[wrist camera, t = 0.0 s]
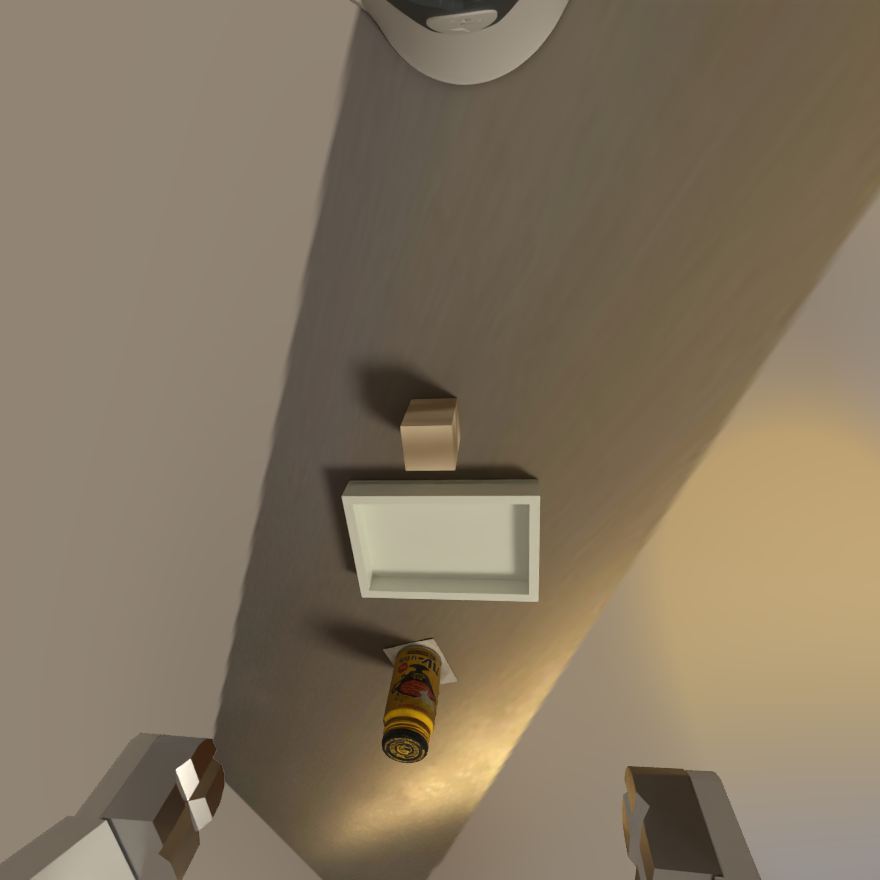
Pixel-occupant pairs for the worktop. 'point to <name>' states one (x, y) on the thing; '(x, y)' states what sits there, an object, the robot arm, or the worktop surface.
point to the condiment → (413, 699)
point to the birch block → (431, 434)
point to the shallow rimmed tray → (445, 538)
